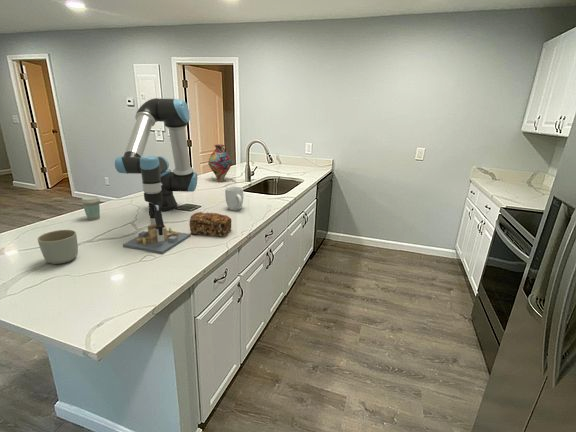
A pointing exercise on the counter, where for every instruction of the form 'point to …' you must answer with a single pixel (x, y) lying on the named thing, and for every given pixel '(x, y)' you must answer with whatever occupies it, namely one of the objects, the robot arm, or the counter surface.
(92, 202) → the coffee cup
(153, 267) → the counter surface
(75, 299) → the counter surface
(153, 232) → the wooden frame with handle
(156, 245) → the post base
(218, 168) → the vase
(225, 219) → the bread
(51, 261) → the planter
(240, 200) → the mug
